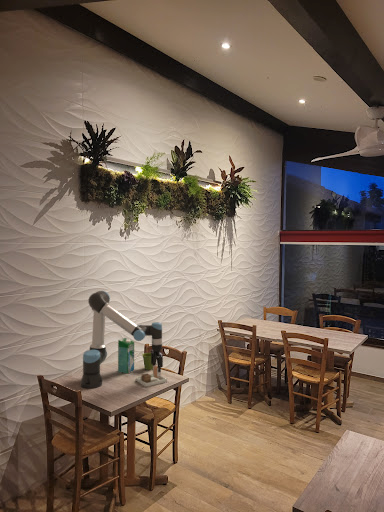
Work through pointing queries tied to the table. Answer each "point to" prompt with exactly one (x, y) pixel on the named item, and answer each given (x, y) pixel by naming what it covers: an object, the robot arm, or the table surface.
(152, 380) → the pale grey tray
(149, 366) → the plant pot
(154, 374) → the terracotta cylinder
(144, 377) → the walnut cube
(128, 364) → the milk carton
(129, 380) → the table surface
